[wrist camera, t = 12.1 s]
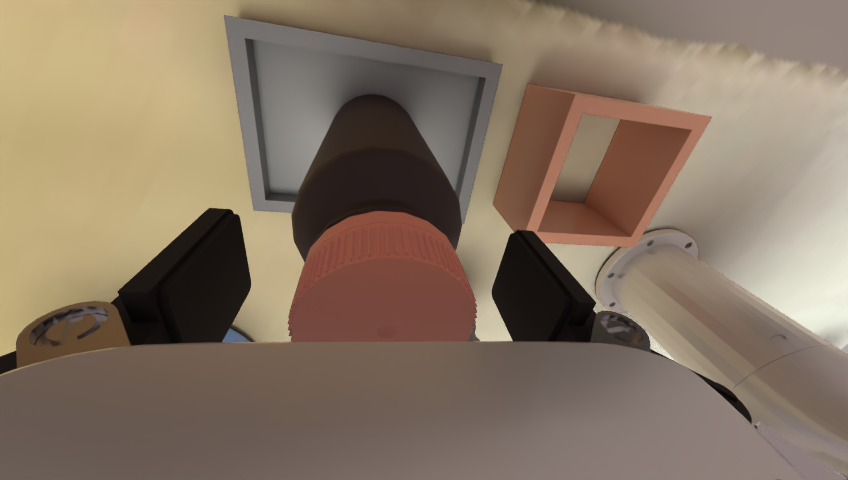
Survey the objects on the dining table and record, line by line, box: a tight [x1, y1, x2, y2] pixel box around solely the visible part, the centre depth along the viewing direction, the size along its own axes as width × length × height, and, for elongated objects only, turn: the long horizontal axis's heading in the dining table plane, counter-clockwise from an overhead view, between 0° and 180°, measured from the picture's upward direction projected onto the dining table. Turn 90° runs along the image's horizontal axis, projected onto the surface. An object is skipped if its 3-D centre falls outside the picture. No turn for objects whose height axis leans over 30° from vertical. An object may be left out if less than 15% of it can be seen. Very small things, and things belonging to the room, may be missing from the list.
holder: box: [493, 84, 712, 248], centre depth 26 cm, size 11×11×7 cm
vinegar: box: [288, 94, 477, 342], centre depth 16 cm, size 7×7×20 cm
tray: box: [224, 15, 503, 224], centre depth 24 cm, size 18×13×2 cm
